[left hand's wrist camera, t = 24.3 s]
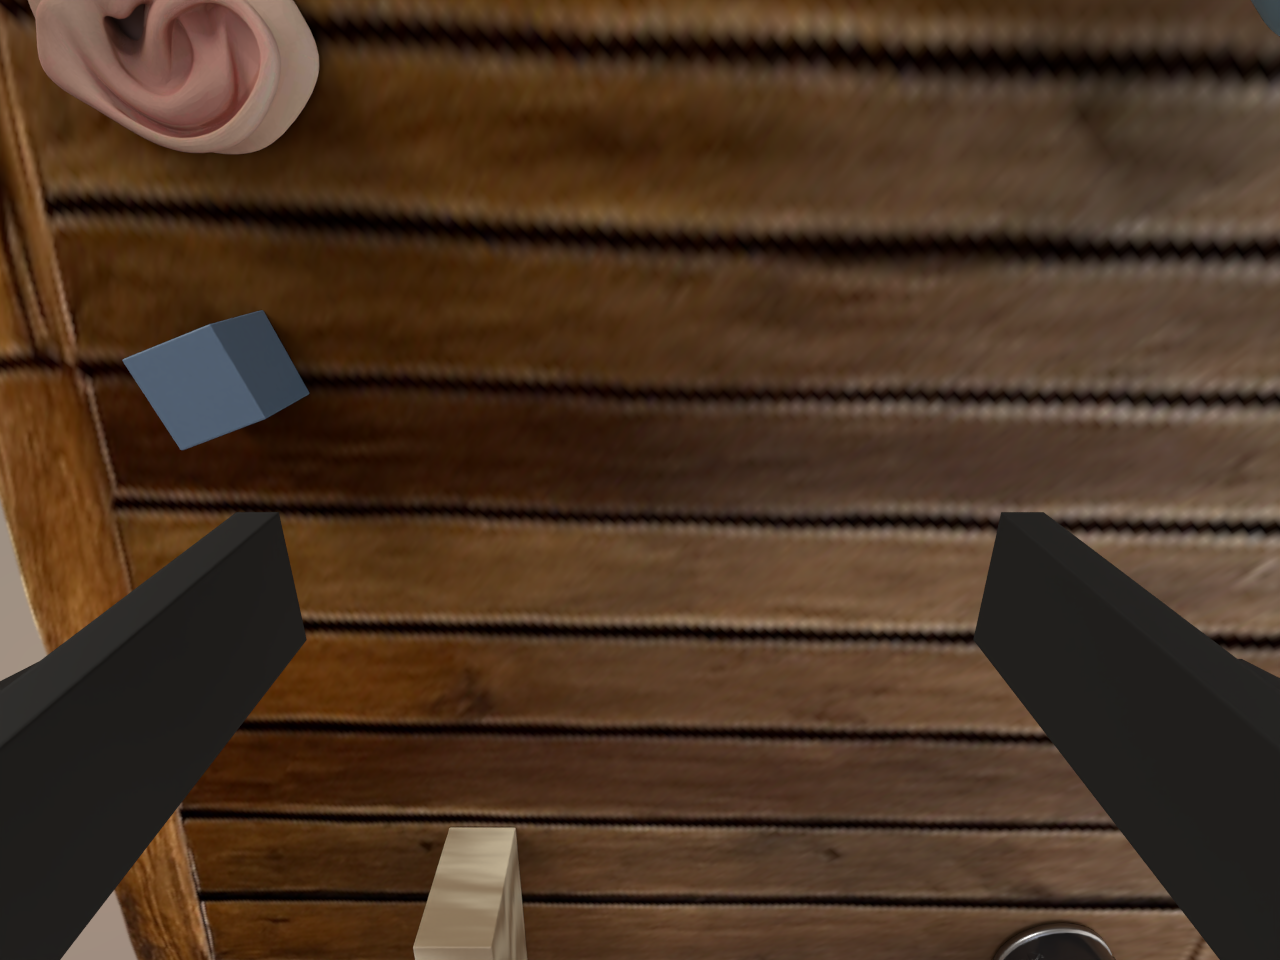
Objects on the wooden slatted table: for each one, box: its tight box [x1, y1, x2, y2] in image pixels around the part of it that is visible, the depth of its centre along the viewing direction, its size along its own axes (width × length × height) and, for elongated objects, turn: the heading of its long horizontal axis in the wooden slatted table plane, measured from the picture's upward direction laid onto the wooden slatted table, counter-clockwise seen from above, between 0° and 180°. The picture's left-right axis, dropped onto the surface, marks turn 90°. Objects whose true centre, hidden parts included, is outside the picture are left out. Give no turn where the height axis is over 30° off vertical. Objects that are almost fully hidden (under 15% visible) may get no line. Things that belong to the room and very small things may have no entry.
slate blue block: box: [123, 310, 309, 450], centre depth 36 cm, size 5×5×5 cm
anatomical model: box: [28, 0, 319, 154], centre depth 30 cm, size 13×4×12 cm
